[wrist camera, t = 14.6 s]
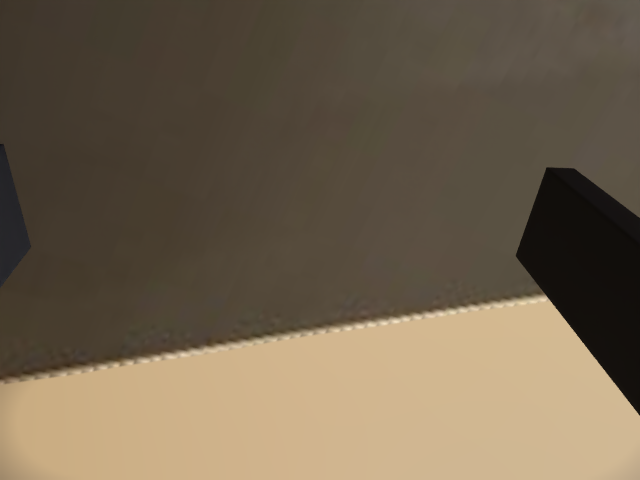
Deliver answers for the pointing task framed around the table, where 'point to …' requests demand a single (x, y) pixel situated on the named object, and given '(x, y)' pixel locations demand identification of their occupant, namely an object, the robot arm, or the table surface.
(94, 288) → the table surface
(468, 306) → the table surface
